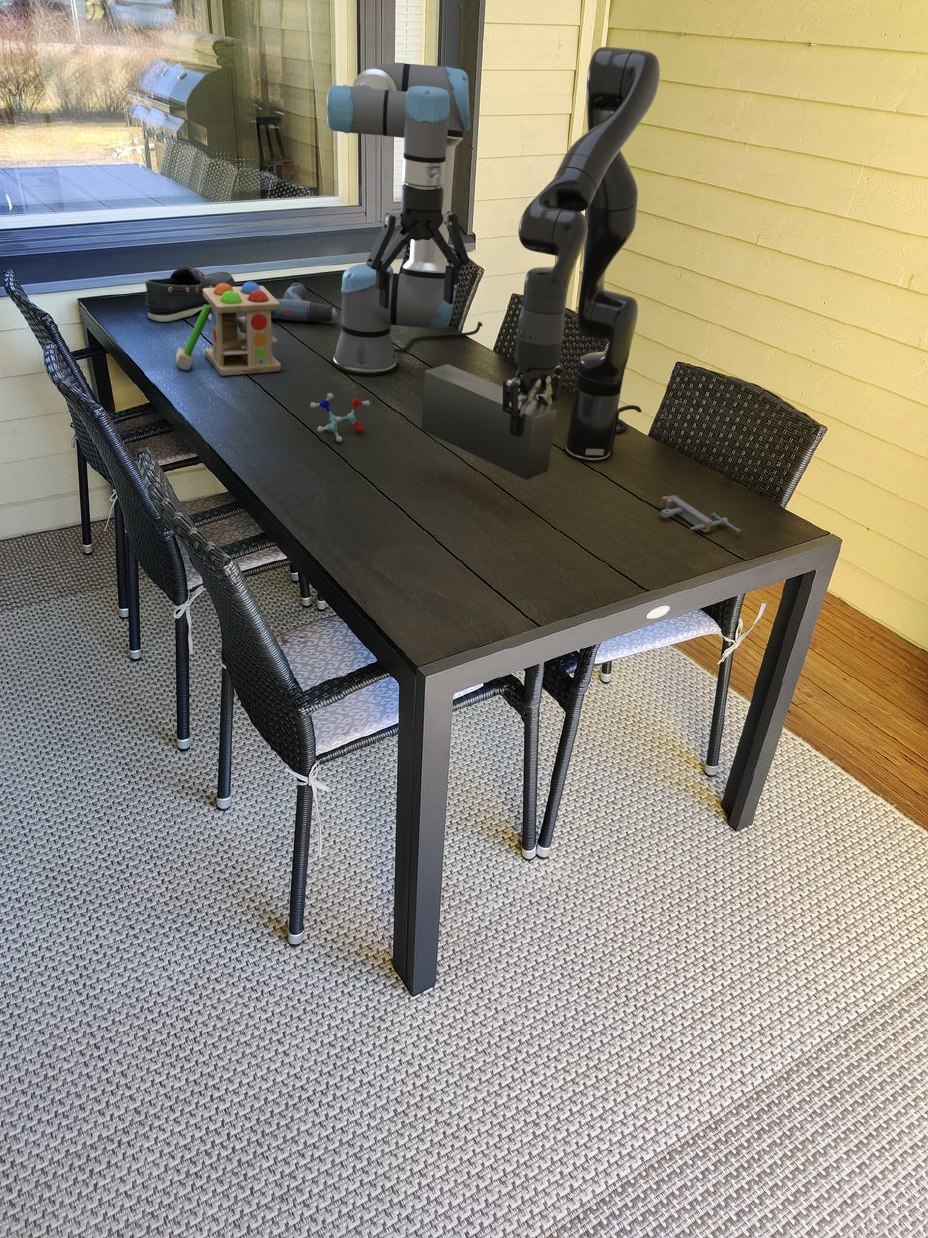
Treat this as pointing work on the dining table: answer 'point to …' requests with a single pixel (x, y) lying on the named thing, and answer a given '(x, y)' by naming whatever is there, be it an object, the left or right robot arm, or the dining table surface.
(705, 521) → the clamp
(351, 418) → the molecular model
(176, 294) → the boat shoe
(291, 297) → the power drill
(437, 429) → the box
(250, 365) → the pounding bench toy
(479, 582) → the dining table surface
